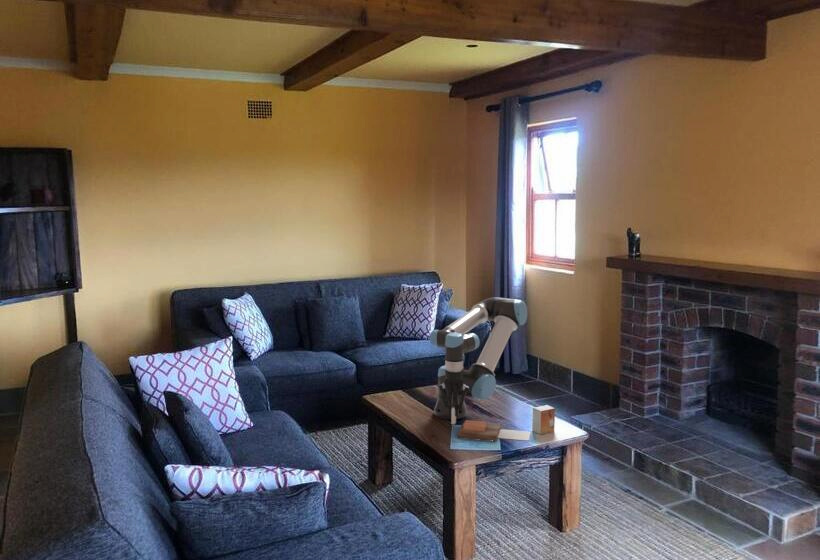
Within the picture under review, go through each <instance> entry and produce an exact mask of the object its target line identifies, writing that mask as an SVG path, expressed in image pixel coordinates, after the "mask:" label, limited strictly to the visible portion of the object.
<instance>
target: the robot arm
mask: <svg viewBox="0 0 820 560" xmlns="http://www.w3.org/2000/svg"><path fill="white" fill-rule="evenodd" d="M527 320H528V307H527V304H526V303H525V301H524V300H521V299H518V298H514V299H513V298H505V297H497V296H494V297H493V296H492V297H488V298H486V299H483V300H481V301H479V302H478V303H475V304H474V305H473V306H472V307H471V310H469V311H468V312H466V313H464V314H463V315H462V316H460V317H459V318H458V319H456V320H455V321H453V322H451V323H450V324H449V325H447V326H445V327H444V328H443V329H441V330H440V329H433V330H431V332H430V334H429V342H430V345H431V346H433V347H436V348H442V349H445V359H444V360H445V361H444V362H445V364H444V365H442V366H440V367H439V368H438V370H437V371H438V372H437V400H436V403H435V405H434V408H433V409H434V410H433V415H434V416H435V417H436V418H440V419H443V420H451V422H450V424H451V425H456V423H457V420H461V419H464V418H465V417H467V415H468V410H467V406H466V403H465V398H472V399H475V400H481V401H484V400H489V399H490V397H492V395H493V394H494V392H495V389H496V385H497V380H496V378H495V377H496V374H495V372H494V371H495V369H496V367H497V364H498V363H499V360H500V358H501V356H502V354H503V352H504V350H505V347H506V346H507V344H508V341H509V339H510V337H511V335H512V332H515V331H516V330H518V327H519V326H524V325H525V324H526V322H527ZM489 321H491V322H494V326H493V327H492V330H491V332H490V333H489V335H488V338H487V340H486V342H485V345H484V346H483V349H482V351H481V352H480V355H479V357H478V359H477V360H476V363H473V364H471V366H470V367H469V369H465V367H464V354H466V353H470V352H473V351H474V350H477V349H478V348H479V347H480V343H481V342H480V338H479V336H478V335H477V334H476V333H474V332H471V330H472V329H474V328H475V327H477V326H478V325H480V324H483V323H486V322H489ZM469 332H470V333H469Z"/></svg>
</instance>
